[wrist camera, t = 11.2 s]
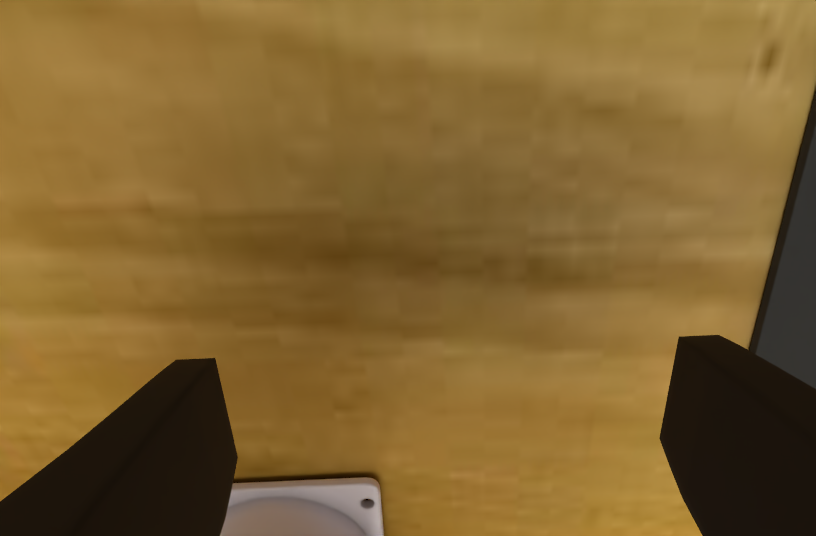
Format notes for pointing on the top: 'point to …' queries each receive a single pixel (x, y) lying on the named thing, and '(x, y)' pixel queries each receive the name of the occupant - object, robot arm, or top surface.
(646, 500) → the top surface
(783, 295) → the mat
